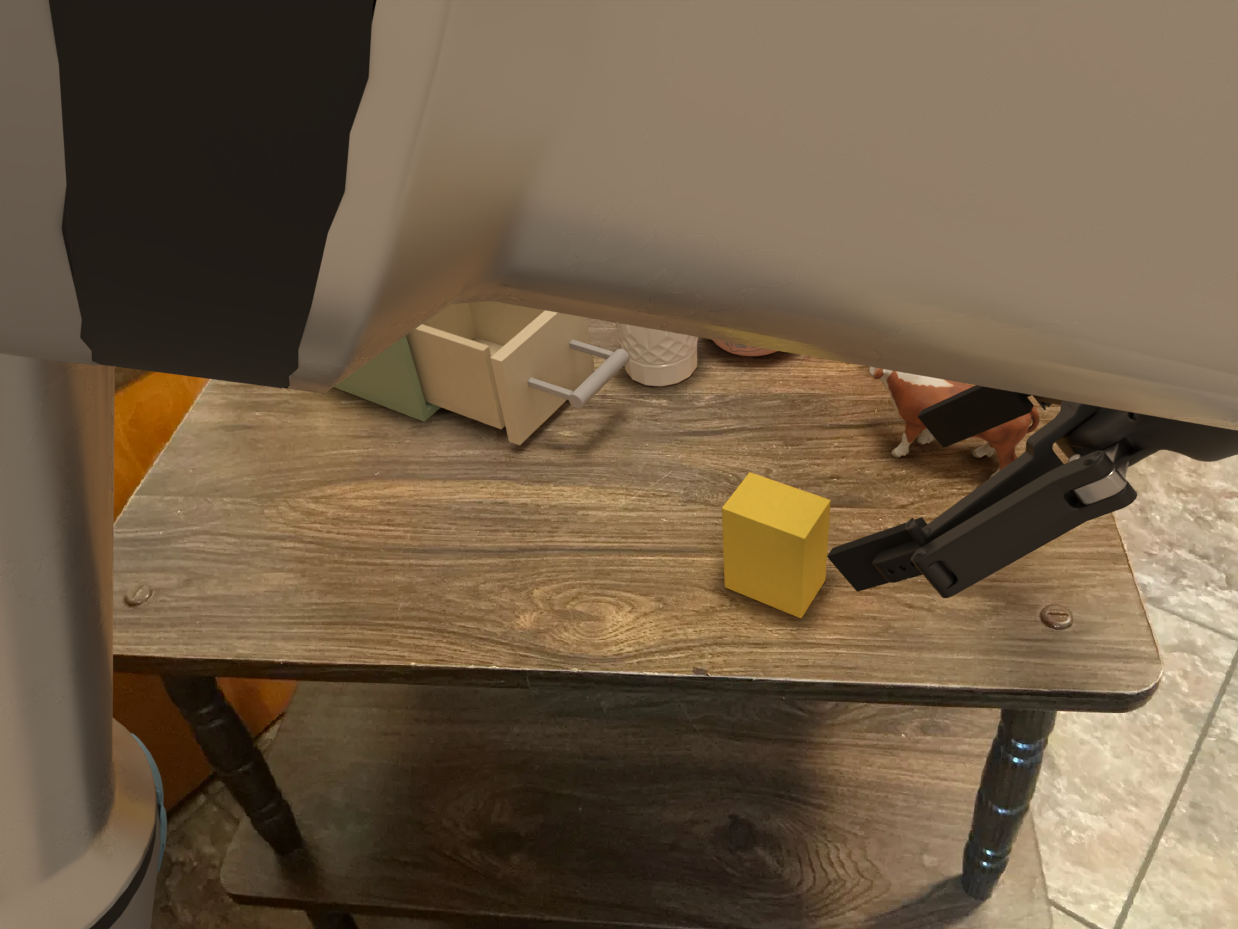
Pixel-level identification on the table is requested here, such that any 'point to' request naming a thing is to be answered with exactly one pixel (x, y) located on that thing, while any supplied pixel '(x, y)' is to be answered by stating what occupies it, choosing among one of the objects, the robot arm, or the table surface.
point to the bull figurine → (927, 391)
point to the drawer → (508, 363)
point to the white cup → (657, 355)
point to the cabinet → (391, 382)
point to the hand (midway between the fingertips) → (891, 495)
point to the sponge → (775, 543)
